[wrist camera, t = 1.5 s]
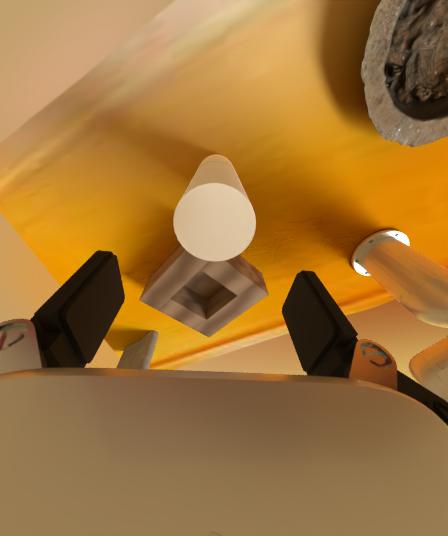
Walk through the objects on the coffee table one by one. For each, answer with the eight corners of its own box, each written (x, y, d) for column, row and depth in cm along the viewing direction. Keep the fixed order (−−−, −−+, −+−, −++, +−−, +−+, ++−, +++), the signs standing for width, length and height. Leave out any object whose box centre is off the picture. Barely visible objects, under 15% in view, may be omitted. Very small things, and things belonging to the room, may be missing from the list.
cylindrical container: (198, 194, 39) (177, 260, 19) (197, 153, 35) (168, 180, 15) (233, 195, 40) (250, 262, 19) (236, 155, 36) (262, 185, 15)
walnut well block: (262, 273, 51) (268, 294, 45) (209, 314, 60) (209, 337, 53) (199, 222, 43) (196, 238, 36) (149, 278, 51) (139, 300, 45)
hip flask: (152, 329, 63) (129, 398, 46) (162, 335, 65) (143, 403, 48) (123, 348, 68) (93, 416, 52) (133, 353, 70) (107, 420, 54)
